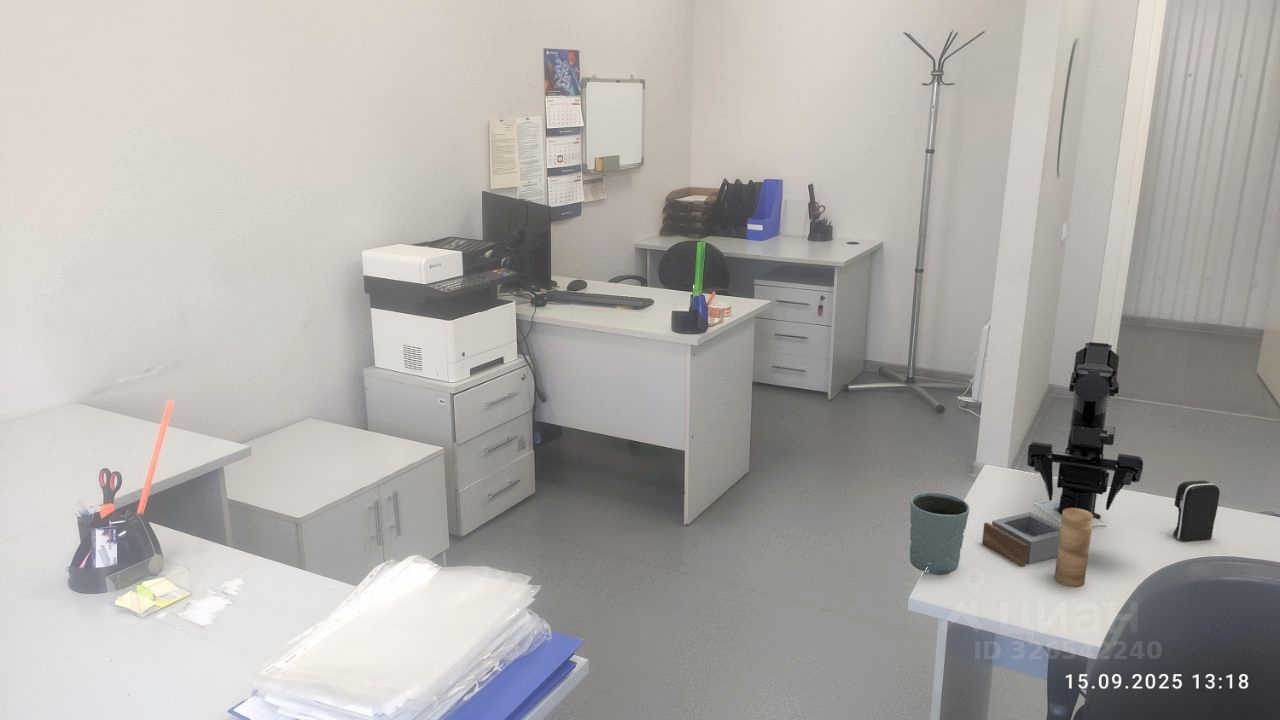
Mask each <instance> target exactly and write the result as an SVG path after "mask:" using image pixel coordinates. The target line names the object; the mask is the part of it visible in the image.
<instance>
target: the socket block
mask: <svg viewBox="0 0 1280 720" xmlns="http://www.w3.org/2000/svg"><path fill="white" fill-rule="evenodd" d="M991 525H993V526H995V527H997V528H999V529H1000V530H1002V531H1004V532H1006V533H1008V534H1010V535H1011V536H1013V537H1015V538H1017V539H1019V540H1021V541H1022V542H1024V543H1026V544H1028V549H1027V558H1026V564H1028V565H1031V564H1035V563H1039V562H1043V561H1046V560H1051V559H1054V558H1057V553H1058V545H1059V537H1060V529H1061V526H1059V525H1057V524H1056V523H1053V522H1051V521H1050V520H1048V519H1045V518H1044V517H1041V516H1039V515H1038V514H1036V513H1033V512H1031V511H1029V512H1024V513H1021V514H1015V515H1011V516H1007V517H1003V518H999V519H995V520H991Z"/></svg>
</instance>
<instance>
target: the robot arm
mask: <svg viewBox="0 0 1280 720" xmlns="http://www.w3.org/2000/svg"><path fill="white" fill-rule="evenodd" d="M1112 347H1113V346H1112V344H1109V343H1105V342H1094V341H1093V342H1092V341H1089V342H1085V344H1084V347H1083V348H1081V349H1080V350H1078V351H1076V353H1075V358H1074V359H1075V360H1074V365H1073V371H1072V373H1071V376H1070V381H1069V387H1068V389H1069V390H1068V391H1069V392H1071V393H1073V398H1072V410H1071V411H1072V412H1071V419H1070V428H1069V435H1068V438H1067V446H1066V448H1065V452H1059V451H1053V444H1051V443H1042V442H1037V441H1032V442H1031V443H1029V444H1028V449H1027V450H1028V451H1027V463H1026V464H1027V466H1028V467H1030V468H1034V471H1035V472H1037V473H1040V476H1041V479H1042V480H1043V482H1044V485H1045V489H1046V492H1047V496H1048V501H1052V500H1053V493H1054V489H1053V488H1054V484H1053V482H1054V480H1053V463H1057V464H1059V467H1058V476H1057V483H1056V484H1057V485H1056V488H1059V489H1060V488H1062V489H1061V490H1062V491H1061V494H1060V498H1059V500H1060V506H1059V508H1055V509H1057V510H1055V509H1054V510H1055V511H1057V512H1059V513H1060V514H1062V512H1063V510H1064V509H1066V508H1079V509H1083V510H1086V511H1088V512H1090V513H1092V514H1093V518H1096V519H1097V520H1099V519H1101V514H1098V513H1096V512H1095V511H1096V503H1097V502H1096V501H1097V495H1098V494H1099V495H1103V494H1104V493H1107V491H1109V492H1108V494H1107V499H1106V502H1105V503H1106V504H1105V510H1107V511H1109V510H1110V507H1111V506H1112V504H1113V502H1114V500H1115V499H1116V496H1117V494H1119V492H1120V491H1121V490H1122V488H1123V487H1124V486H1131V484H1132V483H1138V482H1140V480H1141V477H1142V473H1143V470H1144V469H1143V466H1144V460H1143V459H1142V457H1141V456H1140V455H1139V456H1138V455H1131V454H1125V453H1118V456H1117V458H1116V459H1117V460H1116V459H1109V458H1104V445H1106V446H1113V445H1114V441H1115V432H1116V427H1115V426H1107V425H1106V418H1107V408H1108V403H1109V400H1110V397H1115V394H1116V395H1118V394H1119V390H1120V382H1119V381H1118V371H1119V362H1120V356H1119V355H1118V354H1116V353H1115V352H1114V350H1112ZM1109 471H1113V472H1114V473H1113V475H1112V476H1113V477H1112V480H1111V484H1110V488H1109V490H1108V484H1109V478H1110V473H1109Z"/></svg>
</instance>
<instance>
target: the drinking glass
mask: <svg viewBox="0 0 1280 720" xmlns="http://www.w3.org/2000/svg"><path fill="white" fill-rule="evenodd" d="M969 513H970V506H969V504H968V503H967V502H966V501H965V500H963V499H962V498H959V497H958V496H957V497H956V496H954V495H950V494H946V493H939V492H923V493H918V494H916V495H913V496H912V497H911V498H910V529H909V530H910V547H909V561H910V563H911V565H912V566H913V567H914V568H915V569H917V570H918V571H922V572H924V571H925V570H926V568H927V567H928V568H927V570H926V572H925V573H927V571H928V570H929V571H928V572H929V573H928V574H932V575H934V574H935V575H946V574H947V575H948V574H951V573H953V572H955V571H956V570H957V569H958V568H959V563H960V558H961V549H962V547H963V542H964V537H965V536H964V533H965V530H966V527H967V523H968V518H969ZM929 563H930V564H929Z"/></svg>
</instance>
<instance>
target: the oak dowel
mask: <svg viewBox="0 0 1280 720" xmlns="http://www.w3.org/2000/svg"><path fill="white" fill-rule="evenodd" d="M1092 522H1093V514H1092V513H1090V512H1088V511H1086V510H1083V509H1079V508H1066V509H1064V510H1063V512H1062V520H1061V524H1060V527H1061V529H1060V537H1059V545H1058V553H1057V557H1056V563H1055V571H1054V580H1055V581H1056V582H1057V583H1059V584H1060V585H1063V586H1065V587H1069V588H1070V587H1072V588H1080V587H1082V586H1084V585H1085V581H1086V575H1087V567H1088V560H1089V559H1088V558H1089V550H1090V543H1091V537H1092V536H1091V535H1092V531H1093V530H1092Z"/></svg>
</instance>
